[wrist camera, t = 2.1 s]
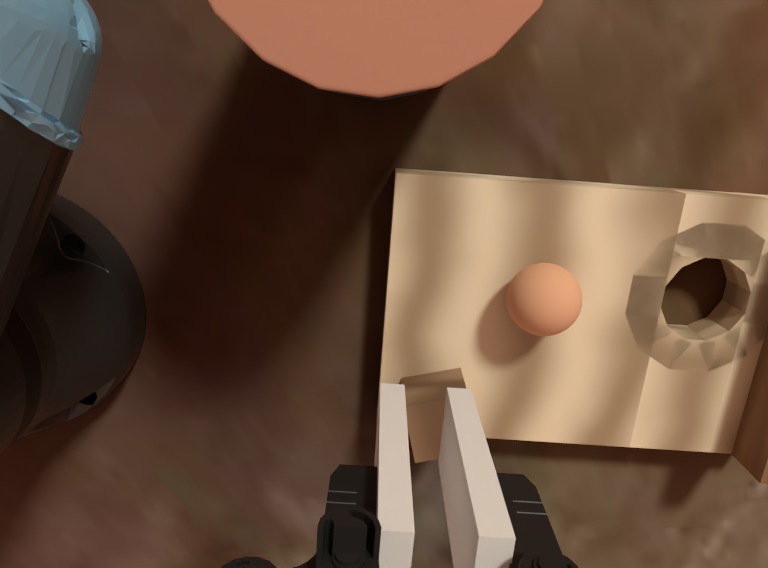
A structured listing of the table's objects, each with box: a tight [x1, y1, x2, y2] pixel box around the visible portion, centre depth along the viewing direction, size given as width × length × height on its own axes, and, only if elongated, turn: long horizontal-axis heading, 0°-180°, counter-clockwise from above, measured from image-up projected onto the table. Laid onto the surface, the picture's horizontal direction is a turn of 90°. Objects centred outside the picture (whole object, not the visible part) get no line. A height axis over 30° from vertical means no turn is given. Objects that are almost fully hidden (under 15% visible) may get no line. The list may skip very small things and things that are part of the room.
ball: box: [506, 263, 582, 336], centre depth 32 cm, size 4×4×4 cm
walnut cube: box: [402, 368, 466, 463], centre depth 34 cm, size 4×4×4 cm
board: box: [376, 168, 768, 484], centre depth 34 cm, size 25×16×6 cm, turn 86°
